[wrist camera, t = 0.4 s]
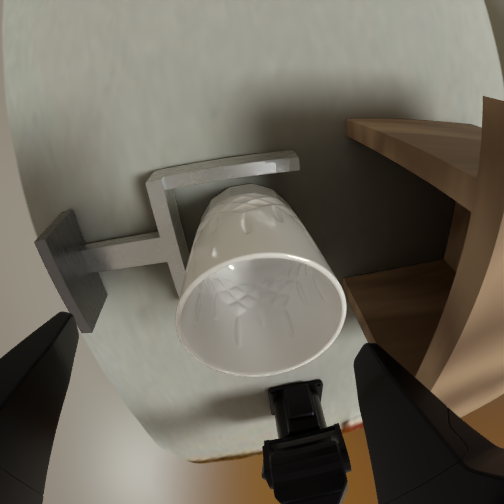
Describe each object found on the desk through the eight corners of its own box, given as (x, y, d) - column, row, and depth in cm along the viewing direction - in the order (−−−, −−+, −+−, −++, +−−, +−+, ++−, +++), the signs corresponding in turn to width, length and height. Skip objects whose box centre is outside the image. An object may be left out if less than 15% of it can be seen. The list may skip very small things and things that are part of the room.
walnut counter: (443, 288, 27) (512, 387, 15) (340, 312, 27) (393, 445, 15) (473, 93, 17) (614, 145, 5) (343, 79, 17) (517, 105, 5)
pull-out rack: (299, 283, 24) (311, 322, 21) (104, 308, 24) (89, 345, 20) (292, 150, 19) (309, 169, 15) (56, 195, 18) (26, 222, 15)
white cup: (234, 287, 25) (241, 392, 16) (170, 216, 21) (139, 314, 12) (319, 237, 23) (367, 332, 14) (263, 152, 19) (297, 215, 11)
